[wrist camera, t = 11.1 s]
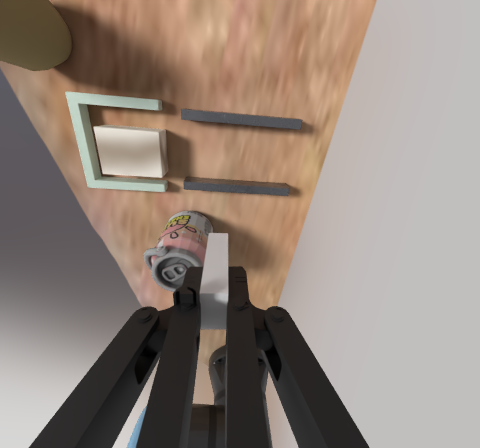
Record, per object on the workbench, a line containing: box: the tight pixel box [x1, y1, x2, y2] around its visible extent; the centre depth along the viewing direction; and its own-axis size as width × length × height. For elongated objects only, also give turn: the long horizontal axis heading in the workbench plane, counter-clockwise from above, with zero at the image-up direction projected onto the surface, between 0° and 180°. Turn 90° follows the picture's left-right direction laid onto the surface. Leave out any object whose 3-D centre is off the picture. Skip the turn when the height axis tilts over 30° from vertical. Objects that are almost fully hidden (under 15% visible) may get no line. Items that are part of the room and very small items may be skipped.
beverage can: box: [143, 211, 213, 292], centre depth 35 cm, size 9×8×12 cm
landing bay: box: [65, 91, 168, 192], centre depth 32 cm, size 12×11×2 cm
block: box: [94, 125, 168, 178], centre depth 32 cm, size 6×8×4 cm
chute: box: [181, 109, 302, 196], centre depth 33 cm, size 11×16×2 cm
